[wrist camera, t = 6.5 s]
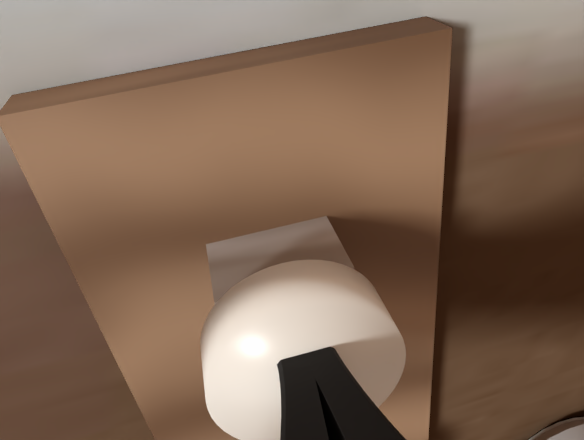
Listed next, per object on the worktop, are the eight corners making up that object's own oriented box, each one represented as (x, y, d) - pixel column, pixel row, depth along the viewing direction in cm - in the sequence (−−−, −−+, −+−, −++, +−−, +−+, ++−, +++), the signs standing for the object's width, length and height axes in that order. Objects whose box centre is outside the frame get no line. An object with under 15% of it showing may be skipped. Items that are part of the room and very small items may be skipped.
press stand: (412, 493, 28) (445, 571, 25) (222, 552, 27) (232, 643, 24) (425, 16, 14) (511, 53, 10) (12, 95, 12) (-42, 166, 9)
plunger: (355, 313, 17) (405, 414, 14) (213, 351, 16) (228, 466, 13) (347, 190, 14) (406, 279, 11) (175, 230, 14) (181, 337, 10)
